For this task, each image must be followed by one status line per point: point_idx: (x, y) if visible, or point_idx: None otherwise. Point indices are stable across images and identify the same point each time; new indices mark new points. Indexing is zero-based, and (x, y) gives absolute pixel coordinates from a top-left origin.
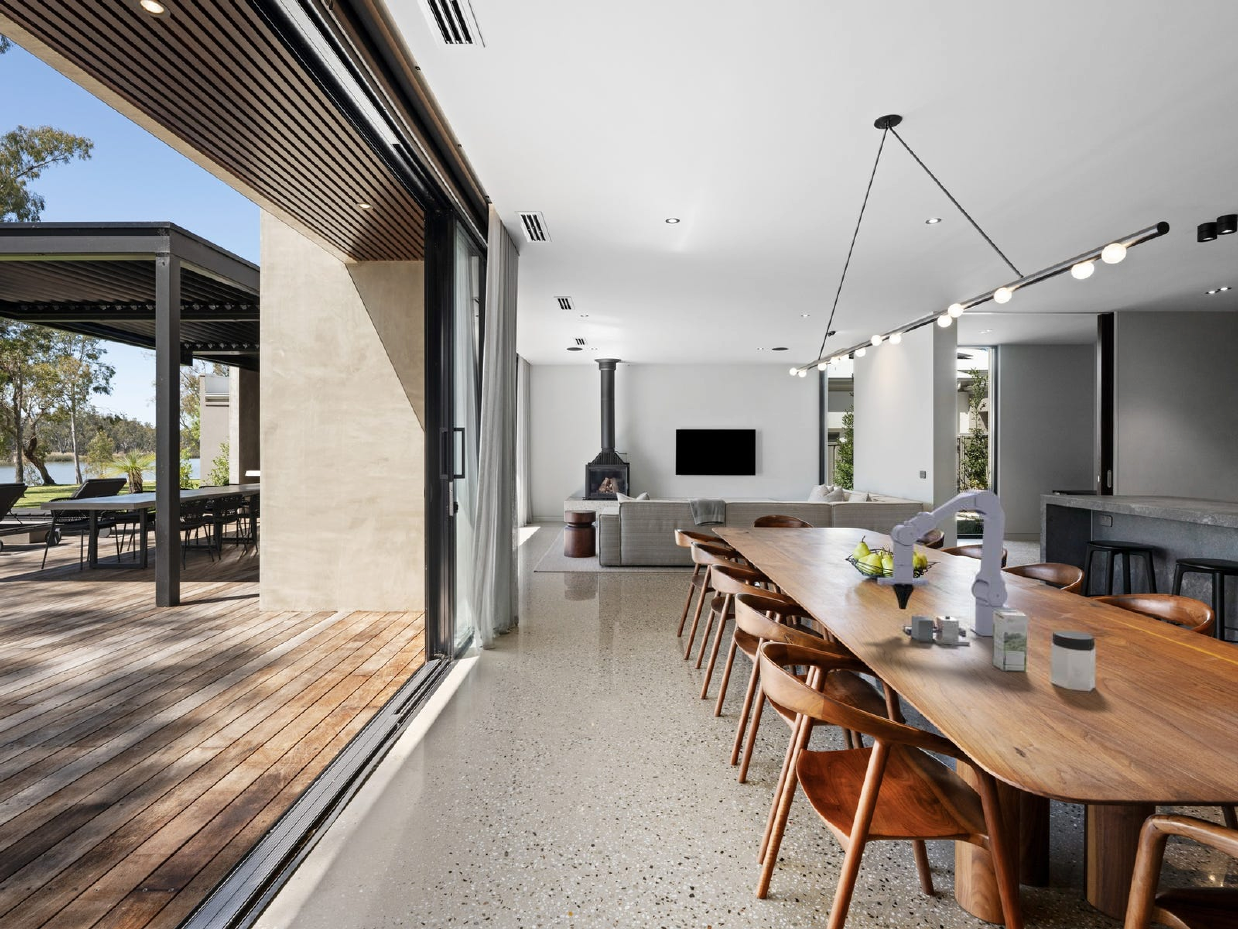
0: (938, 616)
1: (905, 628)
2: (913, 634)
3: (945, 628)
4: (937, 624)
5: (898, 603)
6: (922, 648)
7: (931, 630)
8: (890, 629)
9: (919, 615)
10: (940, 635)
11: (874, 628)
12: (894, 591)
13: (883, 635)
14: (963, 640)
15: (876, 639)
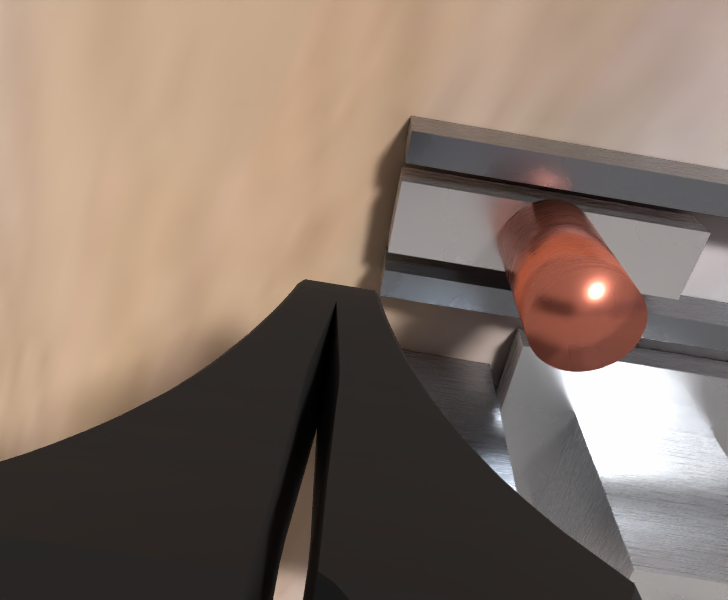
0: (655, 574)
1: (396, 202)
2: None
3: None
4: (597, 515)
5: (279, 307)
6: (302, 569)
7: None
8: (274, 67)
9: None
10: (550, 499)
11: (88, 9)
12: (102, 430)
13: (121, 287)
14: None
15: (31, 387)
